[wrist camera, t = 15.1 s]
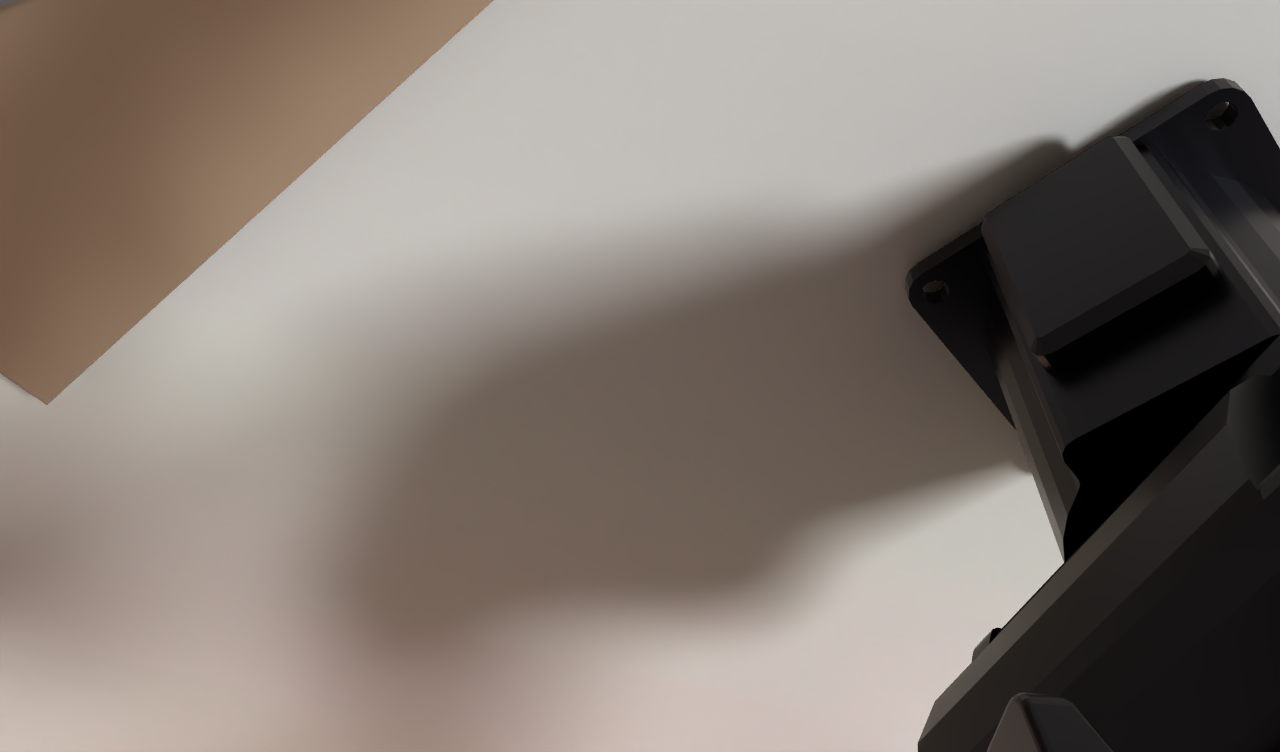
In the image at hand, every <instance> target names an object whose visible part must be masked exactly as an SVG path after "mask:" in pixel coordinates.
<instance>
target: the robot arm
mask: <svg viewBox="0 0 1280 752" xmlns="http://www.w3.org/2000/svg"><path fill="white" fill-rule="evenodd" d="M1221 102H1229V105H1228V107H1227V110H1226V112H1225V113H1224V114H1222V115H1221V116H1220V117H1219V118H1216V119H1214V120H1211V121H1210V120H1205V118H1206V115H1207V113H1208V111H1209V110H1210V109H1211V108H1212V107H1213V106H1214V105H1216V104H1219V103H1221ZM932 281H943V282H944V283H945V284H944V286H943V287H942V288H941V289H939V290H937V291H934V292H925V291H924V290H923V288H924V287H925V286H926V285H927V284H928V283H930V282H932ZM905 287H906V291H907V294H908V298H909V300H910V302H911V304H912V306H913V308H914V309H915V310H916V311H917V312H918V314H919V315H920V316H921V317H922V318H923V320H924V321H925V322H926V323H927V324H928V325H929V327H930V328H931V329H932V330H933V331H934V333H935V334H936V335H937V336H938V337H939V339H940V340H941V341H942V342H943V343H944V345H945V346H946V347H947V348H948V349H949V351H950V352H951V353H952V354H953V355H954V357H955V358H956V359H957V360H958V361H959V362H960V364H961V365H962V366H963V367H964V368H965V370H966V371H967V372H968V373H969V374H970V376H971V377H972V378H973V379H974V380H975V382H976V383H977V384H978V385H979V386H980V388H981V389H982V390H983V391H984V392H985V394H986V395H987V396H988V397H989V398H990V400H991V401H992V402H993V403H994V404H995V405H996V407H997V408H998V409H999V410H1000V411H1001V413H1002V414H1003V415H1004V416H1005V417H1006V419H1007V420H1008V421H1009V422H1010V423H1011V425H1012V426H1013V427H1014V428H1015V429H1016V431H1017V433H1018V436H1019V438H1020V441H1021V444H1022V447H1023V449H1024V452H1025V455H1026V458H1027V461H1028V463H1029V466H1030V469H1031V472H1032V474H1033V477H1034V480H1035V483H1036V486H1037V488H1038V491H1039V494H1040V497H1041V499H1042V502H1043V505H1044V508H1045V510H1046V513H1047V516H1048V519H1049V522H1050V524H1051V527H1052V530H1053V533H1054V535H1055V538H1056V541H1057V544H1058V547H1059V549H1060V552H1061V555H1062V558H1063V560H1064V563H1063V565H1062V566H1061V567H1060V568H1059V569H1058V570H1057V571H1056V572H1055V573H1054V574H1053V575H1052V576H1051V577H1050V578H1049V579H1048V580H1047V581H1046V582H1045V584H1044V585H1043V586H1042V587H1041V588H1040V589H1039V590H1038V591H1037V592H1036V593H1035V594H1034V595H1033V596H1032V597H1031V598H1030V599H1029V600H1028V601H1027V603H1026V604H1025V605H1024V606H1023V607H1022V608H1021V609H1020V610H1019V611H1018V612H1017V613H1016V614H1015V615H1014V616H1013V617H1012V618H1011V619H1010V621H1009V622H1008V623H1007V624H1006V625H1005V626H1004V627H1003V628H1002V629H1001V628H995V629H993V630H992V631H991V632H990V633H989V634H988V635H987V636H986V637H985V638H984V639H983V640H982V641H981V642H980V643H979V644H978V645H977V647H976V648H975V649H974V651H973V657H972V663H971V664H970V665H969V666H968V667H967V668H966V669H965V670H964V671H963V672H962V673H961V674H960V675H959V677H958V678H957V679H956V680H955V681H954V682H953V683H952V684H951V685H950V686H949V687H948V688H947V689H946V690H945V691H944V692H943V693H942V694H941V696H940V697H939V698H938V699H937V700H936V701H935V703H934V705H933V707H932V710H931V712H930V715H929V717H928V720H927V722H926V724H925V727H924V729H923V732H922V734H921V737H920V739H919V741H918V752H1280V148H1279V147H1278V145H1277V143H1276V141H1275V140H1274V138H1273V136H1272V134H1271V133H1270V131H1269V129H1268V127H1267V125H1266V124H1265V122H1264V120H1263V118H1262V117H1261V115H1260V113H1259V111H1258V110H1257V108H1256V106H1255V104H1254V103H1253V101H1252V99H1251V98H1250V97H1249V96H1248V95H1247V94H1246V92H1245V91H1244V90H1243V89H1242V88H1241V87H1240V86H1239V85H1238V84H1237V83H1236V82H1235V81H1231V80H1228V79H1225V78H1222V79H1212V80H1210V81H1207V82H1205V83H1203V84H1200V85H1199V86H1197V87H1196V88H1194V89H1192V90H1191V91H1189V92H1188V93H1186V94H1185V95H1183V96H1181V97H1180V98H1178V99H1177V100H1175V101H1173V102H1172V103H1170V104H1169V105H1167V106H1166V107H1164V108H1162V109H1161V110H1159V111H1158V112H1156V113H1154V114H1153V115H1151V116H1150V117H1148V118H1147V119H1145V120H1143V121H1142V122H1140V123H1139V124H1137V125H1135V126H1134V127H1132V128H1131V129H1129V130H1128V131H1126V132H1124V133H1123V134H1121V135H1120V136H1110V137H1107V138H1105V139H1104V140H1102V141H1100V142H1099V143H1097V144H1096V145H1094V146H1093V147H1091V148H1089V149H1088V150H1086V151H1085V152H1083V153H1082V154H1080V155H1078V156H1077V157H1075V158H1074V159H1072V160H1070V161H1069V162H1067V163H1066V164H1064V165H1063V166H1061V167H1059V168H1058V169H1056V170H1055V171H1053V172H1052V173H1050V174H1048V175H1047V176H1045V177H1044V178H1042V179H1041V180H1039V181H1037V182H1036V183H1034V184H1033V185H1031V186H1030V187H1028V188H1026V189H1025V190H1023V191H1022V192H1020V193H1019V194H1017V195H1015V196H1014V197H1012V198H1011V199H1009V200H1007V201H1006V202H1004V203H1003V204H1001V205H1000V206H998V207H996V208H995V209H993V210H992V211H990V212H989V213H988V214H987V215H986V216H985V219H984V222H982V223H980V224H979V225H977V226H976V227H974V228H973V229H971V230H969V231H968V232H966V233H965V234H963V235H961V236H960V237H958V238H957V239H955V240H954V241H952V242H950V243H949V244H947V245H946V246H944V247H943V248H941V249H939V250H938V251H936V252H935V253H933V254H931V255H930V256H928V257H927V258H925V259H924V260H922V261H920V262H919V263H917V264H916V265H915V266H914V267H913V268H912V269H911V270H910V271H909V273H908V275H907V277H906V286H905Z"/></svg>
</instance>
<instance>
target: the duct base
mask: <svg viewBox="0 0 1280 752" xmlns="http://www.w3.org/2000/svg"><path fill="white" fill-rule="evenodd" d="M492 1H493V0H0V373H1V374H3V375H4V376H6V377H7V378H9V379H10V380H11V381H13V382H14V383H16V384H17V385H19V386H20V387H22V388H23V389H24V390H26V391H27V392H29V393H30V394H32V395H33V396H34V397H36V398H37V399H39V400H40V401H42V402H43V403H45V404H46V405H47V404H48V403H50V402H51V401H52V400H53V399H54V398H55V397H56V396H57V395H58V394H59V393H61V392H62V391H63V390H64V389H65V388H66V387H67V386H68V385H69V384H71V383H72V382H73V381H74V380H75V379H76V378H77V377H78V376H79V375H80V374H82V373H83V372H84V371H85V370H86V369H87V368H88V367H89V366H90V365H91V364H93V363H94V362H95V361H96V360H97V359H98V358H99V357H100V356H101V355H103V354H104V353H105V352H106V351H107V350H108V349H109V348H110V347H111V346H112V345H114V344H115V343H116V342H117V341H118V340H119V339H120V338H121V337H122V336H123V335H125V334H126V333H127V332H128V331H129V330H130V329H131V328H132V327H133V326H135V325H136V324H137V323H138V322H139V321H140V320H141V319H142V318H143V317H144V316H146V315H147V314H148V313H149V312H150V311H151V310H152V309H153V308H154V307H156V306H157V305H158V304H159V303H160V302H161V301H162V300H163V299H164V298H165V297H167V296H168V295H169V294H170V293H171V292H172V291H173V290H174V289H175V288H176V287H178V286H179V285H180V284H181V283H182V282H183V281H184V280H185V279H186V278H188V277H189V276H190V275H191V274H192V273H193V272H194V271H195V270H196V269H197V268H199V267H200V266H201V265H202V264H203V263H204V262H205V261H206V260H207V259H208V258H210V257H211V256H212V255H213V254H214V253H215V252H216V251H217V250H218V249H220V248H221V247H222V246H223V245H224V244H225V243H226V242H227V241H228V240H229V239H231V238H232V237H233V236H234V235H235V234H236V233H237V232H238V231H239V230H240V229H242V228H243V227H244V226H245V225H246V224H247V223H248V222H249V221H250V220H252V219H253V218H254V217H255V216H256V215H257V214H258V213H259V212H260V211H261V210H263V209H264V208H265V207H266V206H267V205H268V204H269V203H270V202H271V201H273V200H274V199H275V198H276V197H277V196H278V195H279V194H280V193H281V192H282V191H284V190H285V189H286V188H287V187H288V186H289V185H290V184H291V183H292V182H293V181H295V180H296V179H297V178H298V177H299V176H300V175H301V174H302V173H303V172H305V171H306V170H307V169H308V168H309V167H310V166H311V165H312V164H313V163H314V162H316V161H317V160H318V159H319V158H320V157H321V156H322V155H323V154H324V153H325V152H327V151H328V150H329V149H330V148H331V147H332V146H333V145H334V144H335V143H337V142H338V141H339V140H340V139H341V138H342V137H343V136H344V135H345V134H346V133H348V132H349V131H350V130H351V129H352V128H353V127H354V126H355V125H356V124H357V123H359V122H360V121H361V120H362V119H363V118H364V117H365V116H366V115H367V114H369V113H370V112H371V111H372V110H373V109H374V108H375V107H376V106H377V105H378V104H380V103H381V102H382V101H383V100H384V99H385V98H386V97H387V96H388V95H390V94H391V93H392V92H393V91H394V90H395V89H396V88H397V87H398V86H399V85H401V84H402V83H403V82H404V81H405V80H406V79H407V78H408V77H409V76H410V75H412V74H413V73H414V72H415V71H416V70H417V69H418V68H419V67H420V66H422V65H423V64H424V63H425V62H426V61H427V60H428V59H429V58H430V57H431V56H433V55H434V54H435V53H436V52H437V51H438V50H439V49H440V48H441V47H442V46H444V45H445V44H446V43H447V42H448V41H449V40H450V39H451V38H452V37H454V36H455V35H456V34H457V33H458V32H459V31H460V30H461V29H462V28H463V27H465V26H466V25H467V24H468V23H469V22H470V21H471V20H472V19H473V18H474V17H476V16H477V15H478V14H479V13H480V12H481V11H482V10H483V9H484V8H486V7H487V6H488V5H489V4H490V3H491V2H492Z"/></svg>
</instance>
